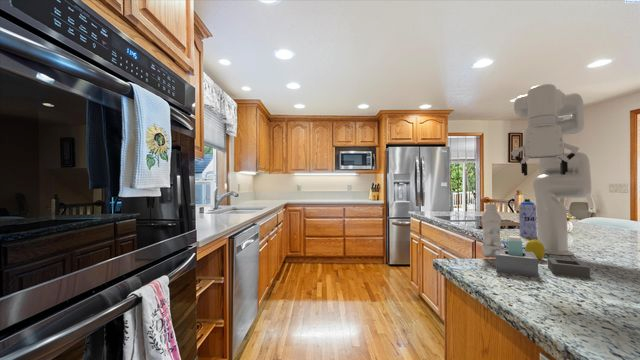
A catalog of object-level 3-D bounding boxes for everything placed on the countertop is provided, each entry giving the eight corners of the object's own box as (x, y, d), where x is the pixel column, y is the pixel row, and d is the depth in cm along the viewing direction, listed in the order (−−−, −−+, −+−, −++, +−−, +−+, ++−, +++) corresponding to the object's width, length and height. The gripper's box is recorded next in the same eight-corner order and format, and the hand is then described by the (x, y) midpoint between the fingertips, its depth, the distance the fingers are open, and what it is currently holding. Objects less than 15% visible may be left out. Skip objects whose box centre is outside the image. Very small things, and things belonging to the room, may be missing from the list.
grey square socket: (547, 270, 87) (547, 257, 88) (582, 274, 83) (581, 261, 83) (552, 277, 81) (552, 263, 81) (590, 282, 76) (589, 267, 77)
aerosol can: (521, 236, 148) (520, 199, 149) (517, 234, 155) (516, 198, 156) (539, 237, 145) (538, 199, 146) (534, 235, 152) (533, 198, 153)
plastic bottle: (479, 257, 103) (477, 204, 104) (485, 255, 108) (484, 203, 108) (498, 261, 98) (497, 205, 99) (505, 258, 103) (503, 204, 103)
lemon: (548, 264, 95) (548, 240, 95) (530, 263, 96) (530, 240, 96) (539, 260, 100) (538, 237, 100) (522, 259, 101) (521, 237, 101)
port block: (495, 266, 91) (495, 248, 92) (533, 271, 86) (533, 251, 86) (496, 275, 83) (495, 254, 83) (538, 280, 78) (537, 258, 78)
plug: (508, 267, 87) (507, 235, 88) (521, 268, 86) (520, 236, 86) (508, 270, 84) (508, 237, 85) (523, 271, 83) (522, 238, 83)
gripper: (574, 122, 90) (575, 174, 90) (509, 128, 99) (511, 176, 99) (580, 117, 84) (582, 173, 83) (511, 124, 93) (512, 175, 92)
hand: (543, 175), depth 91 cm, fingers open, 9 cm apart
